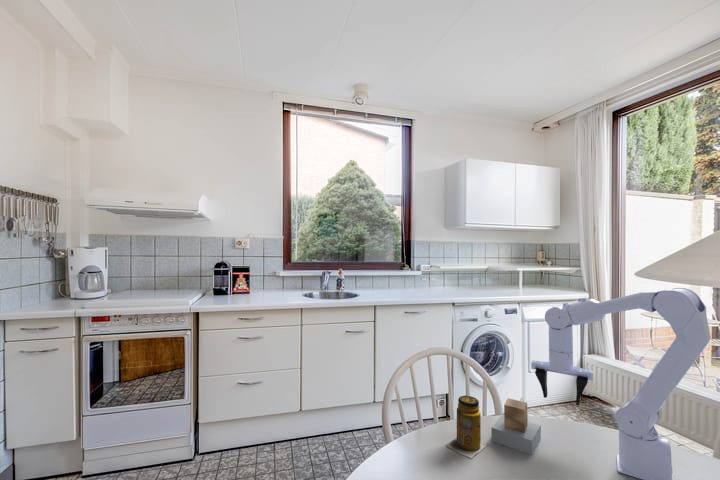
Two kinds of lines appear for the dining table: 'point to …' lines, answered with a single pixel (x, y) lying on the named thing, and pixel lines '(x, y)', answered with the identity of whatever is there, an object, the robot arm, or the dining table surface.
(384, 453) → the dining table surface
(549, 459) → the dining table surface
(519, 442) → the slate box
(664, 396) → the robot arm
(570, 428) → the dining table surface
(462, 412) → the condiment
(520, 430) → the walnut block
